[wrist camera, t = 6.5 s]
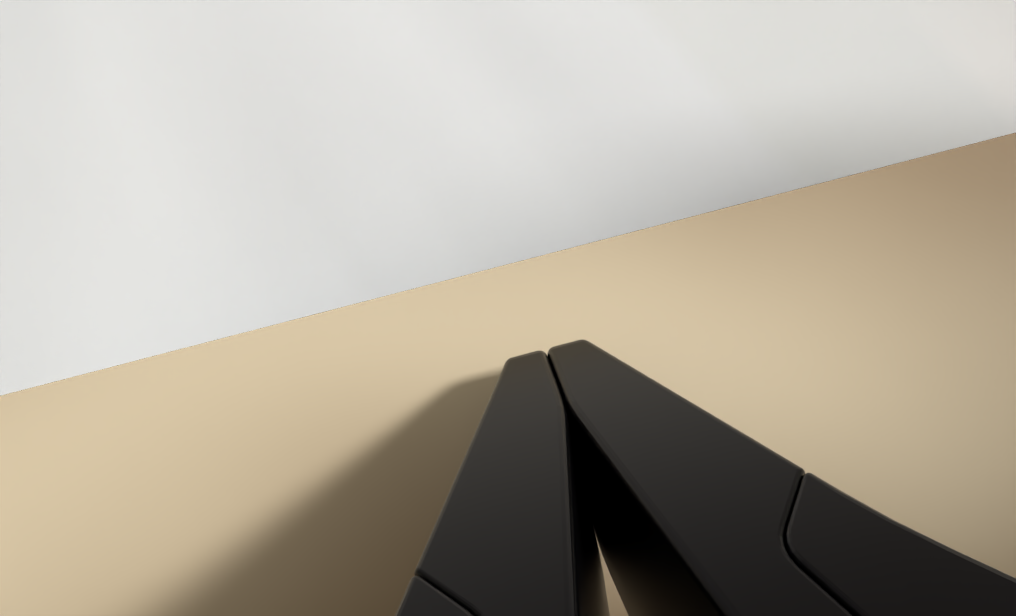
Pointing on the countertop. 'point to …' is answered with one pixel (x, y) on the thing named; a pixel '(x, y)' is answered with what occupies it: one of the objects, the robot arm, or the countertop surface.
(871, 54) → the countertop surface
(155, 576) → the birch lid
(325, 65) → the countertop surface
